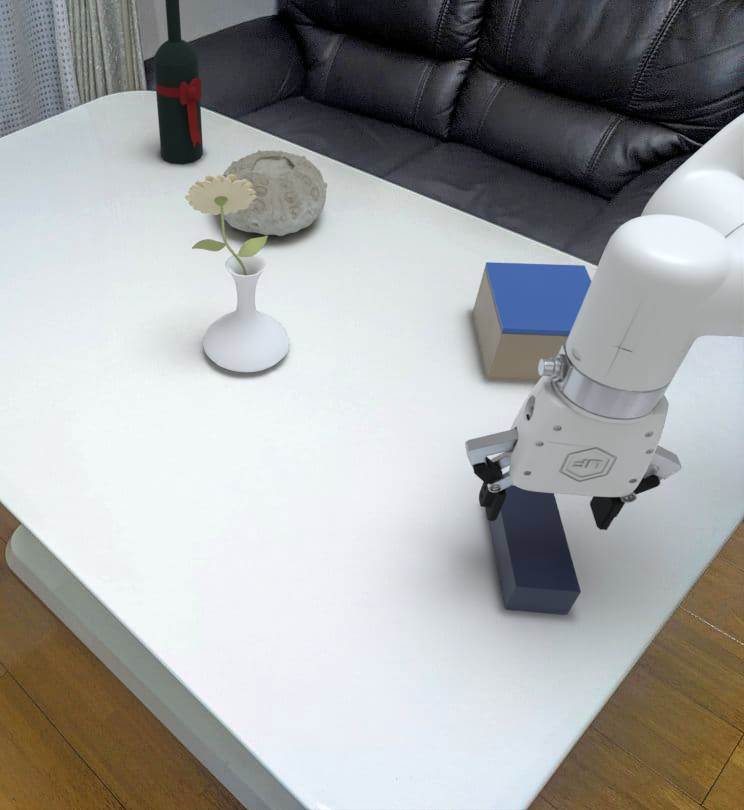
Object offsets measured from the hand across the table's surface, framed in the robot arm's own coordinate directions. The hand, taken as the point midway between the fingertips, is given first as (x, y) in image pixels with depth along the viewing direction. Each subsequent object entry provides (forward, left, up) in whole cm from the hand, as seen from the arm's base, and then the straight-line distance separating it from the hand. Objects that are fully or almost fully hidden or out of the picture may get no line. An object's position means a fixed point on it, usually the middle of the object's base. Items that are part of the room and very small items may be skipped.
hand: (542, 512), depth 68 cm
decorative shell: (+29, -63, -8) cm, 70 cm away
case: (0, 0, -8) cm, 8 cm away
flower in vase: (+31, -30, -8) cm, 44 cm away
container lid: (-7, -33, 0) cm, 34 cm away
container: (-6, -33, -8) cm, 35 cm away
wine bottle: (+46, -84, -8) cm, 96 cm away
